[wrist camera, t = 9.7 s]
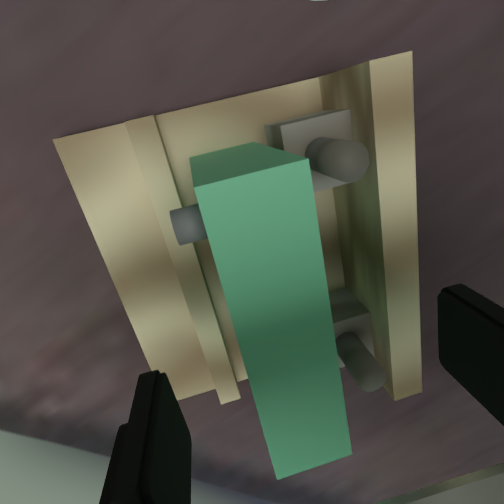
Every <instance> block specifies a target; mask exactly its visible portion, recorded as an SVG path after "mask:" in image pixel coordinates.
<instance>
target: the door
mask: <svg viewBox="0 0 504 504" xmlns="http://www.w3.org/2000/svg"><path fill="white" fill-rule="evenodd" d="M189 160H190V166H191V173H192V180H193V186H194V190H195V194H196V197H197V201H198V203H197V204H194V205H190V206H186V207H182V208H178V209H174V210H170V218H171V223H172V226H173V230H174V233H175V236H176V239H177V241H178V244H179V245H180V246H181V245H185V244H188V243H192V242H196V241H200V240H203V239H207V238H208V240H209V243H210V247H211V250H212V254H213V257H214V261H215V264H216V268H217V271H218V275H219V278H220V282H221V285H222V289H223V292H224V296H225V299H226V303H227V306H228V310H229V313H230V317H231V320H232V324H233V327H234V331H235V334H236V338H237V341H238V345H239V348H240V352H241V355H242V359H243V362H244V366H245V369H246V373H247V376H248V380H249V383H250V387H251V390H252V394H253V397H254V401H255V404H256V408H257V411H258V415H259V418H260V422H261V425H262V429H263V432H264V436H265V439H266V443H267V446H268V450H269V453H270V457H271V460H272V464H273V467H274V471H275V474H276V478H277V480H279V479H281V478H284V477H287V476H290V475H293V474H296V473H299V472H302V471H305V470H308V469H311V468H314V467H317V466H320V465H323V464H326V463H328V462H331V461H334V460H337V459H340V458H343V457H346V456H349V455H352V450H351V443H350V436H349V429H348V423H347V416H346V409H345V402H344V395H343V389H342V382H341V375H340V368H339V361H338V355H337V348H336V341H335V334H334V327H333V320H332V314H331V307H330V300H329V293H328V286H327V280H326V273H325V266H324V259H323V252H322V246H321V239H320V232H319V225H318V218H317V211H316V205H315V198H314V191H313V184H312V177H311V171H310V164H309V158H306V157H302V156H299V155H296V154H292V153H289V152H286V151H283V150H279V149H276V148H273V147H269V146H266V145H263V144H260V143H256V142H250V143H246V144H242V145H238V146H234V147H230V148H226V149H221V150H217V151H213V152H209V153H205V154H201V155H197V156H193V157H189Z"/></svg>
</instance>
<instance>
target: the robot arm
mask: <svg viewBox="0 0 504 504" xmlns="http://www.w3.org/2000/svg"><path fill="white" fill-rule="evenodd" d="M437 300H438V342H439V360H440V362H441V364H442V366H443V367H444V368H445V369H446V370H447V371H448V372H449V373H450V374H451V375H452V376H453V377H454V378H455V379H456V380H457V381H458V382H459V383H460V384H461V385H462V386H463V387H464V388H465V389H466V390H467V391H468V392H469V393H470V394H471V395H472V396H473V397H474V398H475V399H476V400H477V401H479V402H480V403H481V404H482V405H483V406H484V407H485V408H486V409H487V410H488V411H489V412H490V413H491V414H492V415H493V416H494V417H495V418H496V419H497V420H498V421H499V422H500V423H501V424H502V425H503V426H504V308H502V307H501V306H499V305H497V304H495V303H494V302H492V301H490V300H489V299H487V298H485V297H484V296H482V295H480V294H479V293H477V292H475V291H473V290H472V289H470V288H468V287H467V286H465V285H463V284H456V285H452V286H449V287H445V288H443V289H442V290H441V293H440V294H439V295H438V298H437ZM99 504H191V436H190V432H189V429H188V427H187V424H186V422H185V419H184V417H183V414H182V412H181V409H180V407H179V404H178V402H177V399H176V397H175V394H174V392H173V389H172V387H171V384H170V382H169V379H168V377H167V374H166V373H165V372H164V373H160V371H159V370H154V371H150V372H147V373H143V374H140V375H139V378H138V382H137V386H136V391H135V395H134V399H133V404H132V408H131V412H130V417H129V421H128V423H126V424H123V425H121V426H120V427H119V429H118V432H117V436H116V440H115V444H114V448H113V451H112V455H111V459H110V463H109V467H108V471H107V475H106V479H105V483H104V487H103V490H102V495H101V498H100V502H99ZM376 504H504V463H500V464H497V465H494V466H491V467H488V468H485V469H481V470H478V471H475V472H472V473H469V474H466V475H462V476H459V477H456V478H453V479H450V480H447V481H444V482H441V483H437V484H434V485H431V486H428V487H425V488H422V489H419V490H416V491H413V492H410V493H406V494H403V495H400V496H397V497H394V498H391V499H388V500H385V501H382V502H379V503H376Z"/></svg>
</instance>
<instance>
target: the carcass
mask: <svg viewBox="0 0 504 504" xmlns="http://www.w3.org/2000/svg"><path fill="white" fill-rule="evenodd" d="M53 142H54V145H55V147H56V149H57V152H58V154H59V156H60V159H61V161H62V163H63V166H64V168H65V170H66V173H67V175H68V177H69V180H70V182H71V184H72V187H73V189H74V191H75V194H76V196H77V198H78V201H79V203H80V205H81V208H82V210H83V212H84V215H85V217H86V219H87V222H88V224H89V226H90V229H91V231H92V233H93V236H94V238H95V240H96V243H97V245H98V247H99V250H100V252H101V254H102V257H103V259H104V261H105V264H106V266H107V268H108V271H109V273H110V275H111V278H112V280H113V282H114V285H115V287H116V289H117V292H118V294H119V296H120V299H121V301H122V303H123V306H124V308H125V310H126V313H127V315H128V317H129V320H130V322H131V324H132V327H133V329H134V331H135V334H136V336H137V338H138V341H139V343H140V345H141V347H142V350H143V352H144V354H145V357H146V359H147V361H148V364H149V366H150V368H151V371H154V370H159V371H160V373H164V372H165V373H166V374H167V377H168V379H169V382H170V384H171V387H172V389H173V392H174V394H175V397H176V399H177V401H178V400H181V399H184V398H187V397H190V396H194V395H197V394H200V393H203V392H206V391H210V390H213V389H216V391H217V394H218V397H219V400H220V402H221V404H224V403H228V402H231V401H234V400H237V399H240V398H241V397H240V392H239V387H238V383H237V382H238V381H242V380H245V379H248V376H247V373H246V369H245V366H244V362H243V359H242V355H241V352H240V348H239V345H238V341H237V338H236V334H235V331H234V327H233V324H232V320H231V317H230V313H229V310H228V306H227V303H226V299H225V296H224V292H223V289H222V285H221V282H220V278H219V275H218V271H217V268H216V264H215V261H214V257H213V254H212V250H211V247H210V243H209V240H208V238H207V239H203V240H200V241H196V242H192V243H188V244H185V245H181V246H180V245H179V244H178V241H177V239H176V236H175V233H174V230H173V226H172V223H171V218H170V210H174V209H178V208H182V207H186V206H190V205H194V204H197V203H198V201H197V197H196V194H195V190H194V186H193V180H192V173H191V166H190V160H189V157H193V156H197V155H201V154H205V153H209V152H213V151H217V150H221V149H226V148H230V147H234V146H238V145H242V144H246V143H250V142H256V143H260V144H263V145H266V146H269V147H273V148H276V149H279V150H283V151H286V152H289V153H292V154H296V155H299V156H302V157H306V158H309V164H310V171H311V177H312V184H313V191H314V198H315V205H316V211H317V218H318V225H319V232H320V239H321V246H322V252H323V259H324V266H325V273H326V280H327V286H328V293H329V300H330V307H331V314H332V320H333V327H334V334H335V341H336V348H337V355H338V361H339V368H342V367H345V366H346V368H347V369H348V371H349V372H350V374H351V375H352V377H353V378H354V380H355V381H356V383H357V384H358V386H359V387H360V389H361V390H362V391H365V392H373V391H376V390H378V389H379V388H381V387H382V386H383V387H384V388H385V390H386V391H387V392H388V394H389V395H390V396H391V398H392V399H393V400H394V401H396V400H399V399H402V398H405V397H408V396H411V395H414V394H417V393H420V392H422V368H421V334H420V300H419V266H418V232H417V198H416V164H415V131H414V97H413V63H412V51H409V52H405V53H401V54H397V55H392V56H388V57H384V58H379V59H375V60H371V61H367V62H364V63H361V64H358V65H355V66H352V67H349V68H345V69H342V70H339V71H336V72H333V73H330V74H327V75H324V76H320V77H317V78H313V79H308V80H304V81H300V82H296V83H291V84H287V85H283V86H279V87H274V88H270V89H266V90H262V91H257V92H253V93H249V94H245V95H240V96H236V97H232V98H228V99H223V100H219V101H215V102H211V103H206V104H202V105H198V106H194V107H189V108H185V109H181V110H177V111H172V112H168V113H164V114H160V115H151V116H147V117H143V118H138V119H134V120H130V121H125V122H124V123H121V124H117V125H113V126H109V127H104V128H100V129H96V130H92V131H87V132H83V133H79V134H75V135H70V136H66V137H62V138H58V139H53Z"/></svg>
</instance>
